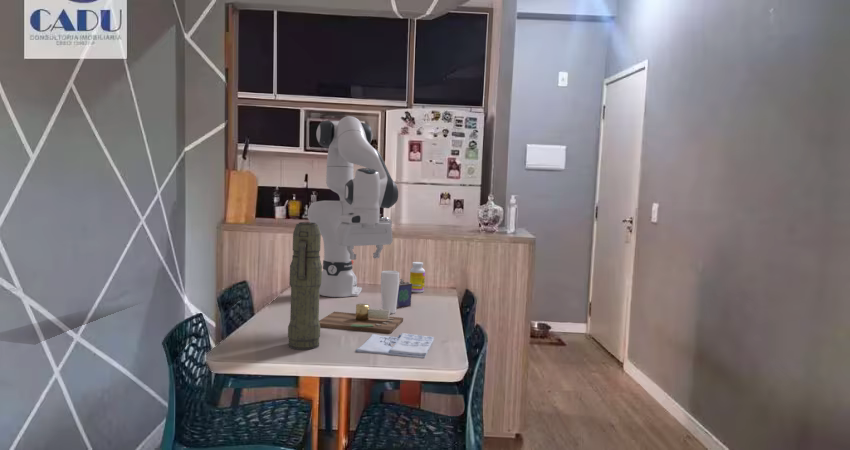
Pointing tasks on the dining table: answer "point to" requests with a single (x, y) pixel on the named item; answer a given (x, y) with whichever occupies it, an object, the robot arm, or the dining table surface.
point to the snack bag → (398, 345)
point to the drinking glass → (389, 290)
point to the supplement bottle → (417, 277)
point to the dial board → (360, 323)
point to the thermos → (305, 287)
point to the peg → (370, 313)
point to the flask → (404, 294)
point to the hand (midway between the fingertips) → (364, 258)
